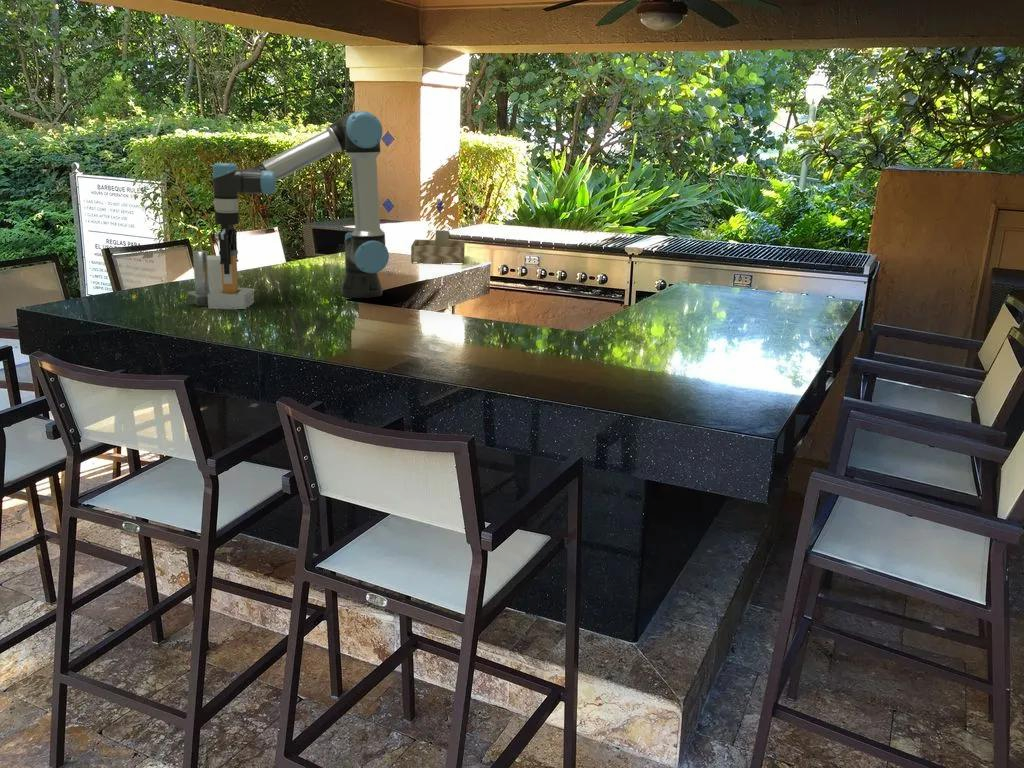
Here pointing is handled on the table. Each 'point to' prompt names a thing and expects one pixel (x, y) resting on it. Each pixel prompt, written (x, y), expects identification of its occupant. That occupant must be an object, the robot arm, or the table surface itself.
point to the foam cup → (214, 272)
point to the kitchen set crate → (437, 252)
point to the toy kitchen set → (441, 239)
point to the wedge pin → (232, 287)
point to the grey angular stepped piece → (217, 296)
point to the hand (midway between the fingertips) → (230, 282)
